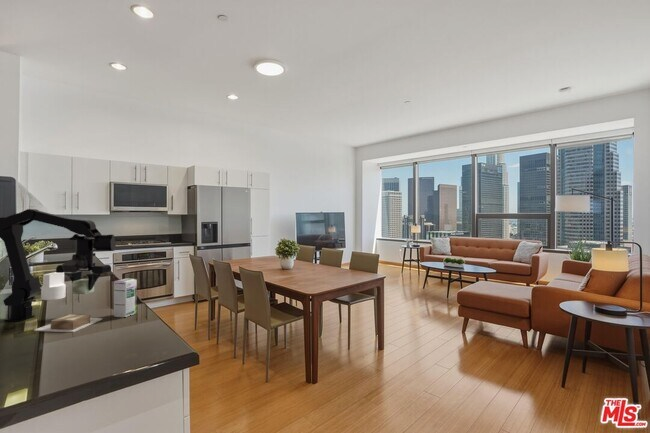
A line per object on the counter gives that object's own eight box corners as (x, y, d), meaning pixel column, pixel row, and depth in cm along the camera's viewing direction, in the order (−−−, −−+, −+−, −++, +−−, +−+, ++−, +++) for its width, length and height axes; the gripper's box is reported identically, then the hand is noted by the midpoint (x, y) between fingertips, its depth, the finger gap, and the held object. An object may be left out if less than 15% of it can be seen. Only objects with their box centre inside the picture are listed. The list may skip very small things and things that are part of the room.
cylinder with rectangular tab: (54, 300, 150) (55, 274, 150) (35, 299, 150) (36, 274, 150) (70, 295, 159) (70, 271, 159) (52, 295, 159) (53, 271, 159)
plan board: (33, 331, 111) (34, 320, 111) (67, 318, 125) (67, 309, 125) (73, 332, 111) (73, 322, 111) (102, 319, 125) (102, 310, 125)
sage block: (72, 293, 127) (72, 281, 127) (82, 291, 132) (82, 278, 132) (84, 294, 127) (85, 281, 127) (94, 291, 132) (94, 279, 132)
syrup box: (125, 317, 127) (126, 281, 127) (112, 316, 129) (113, 280, 129) (136, 313, 133) (137, 278, 133) (124, 312, 134) (125, 278, 134)
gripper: (43, 252, 121) (42, 294, 121) (92, 254, 121) (91, 295, 121) (68, 250, 132) (67, 287, 132) (112, 251, 132) (111, 288, 132)
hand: (83, 289), depth 129 cm, fingers closed on sage block, 5 cm apart
